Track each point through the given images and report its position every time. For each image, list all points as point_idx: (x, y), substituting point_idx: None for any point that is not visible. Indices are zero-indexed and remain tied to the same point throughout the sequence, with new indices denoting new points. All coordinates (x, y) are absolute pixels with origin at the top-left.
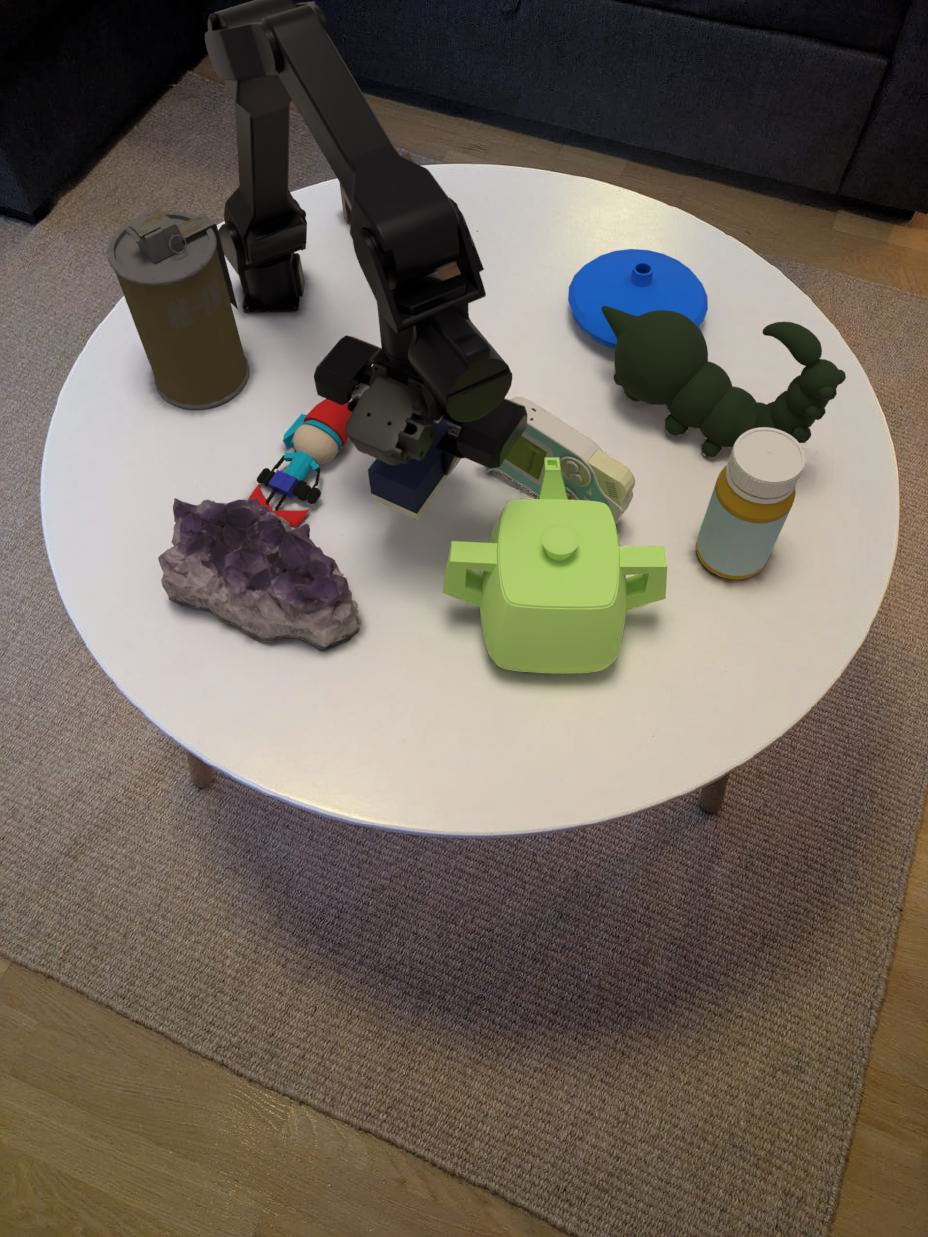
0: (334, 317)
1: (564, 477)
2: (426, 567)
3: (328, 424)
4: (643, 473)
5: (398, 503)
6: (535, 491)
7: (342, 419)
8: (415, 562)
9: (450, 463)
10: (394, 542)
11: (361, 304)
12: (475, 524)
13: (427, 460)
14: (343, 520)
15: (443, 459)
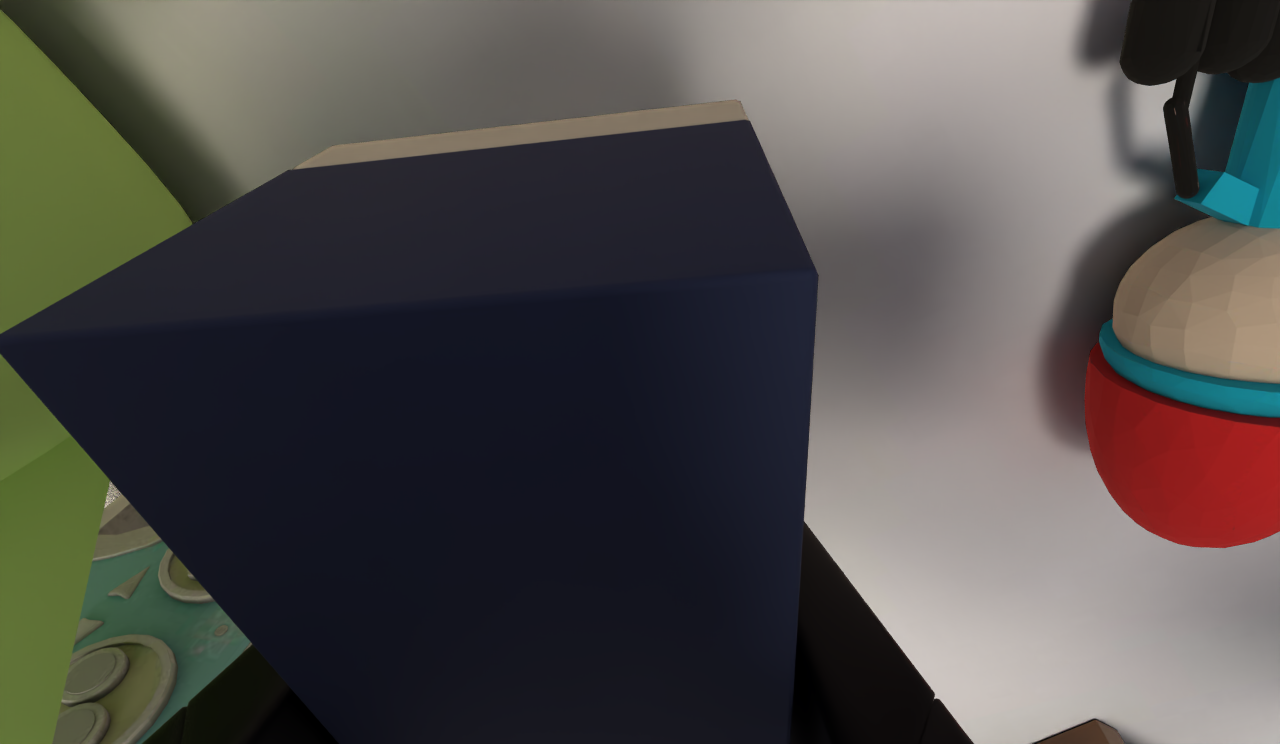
0: (1264, 666)
1: (163, 647)
2: (418, 41)
3: (1258, 426)
4: None
5: (445, 160)
6: None
7: (1174, 471)
8: (476, 32)
9: (218, 675)
10: (630, 72)
11: (1186, 708)
12: None
13: (332, 653)
14: (925, 27)
15: (267, 690)
